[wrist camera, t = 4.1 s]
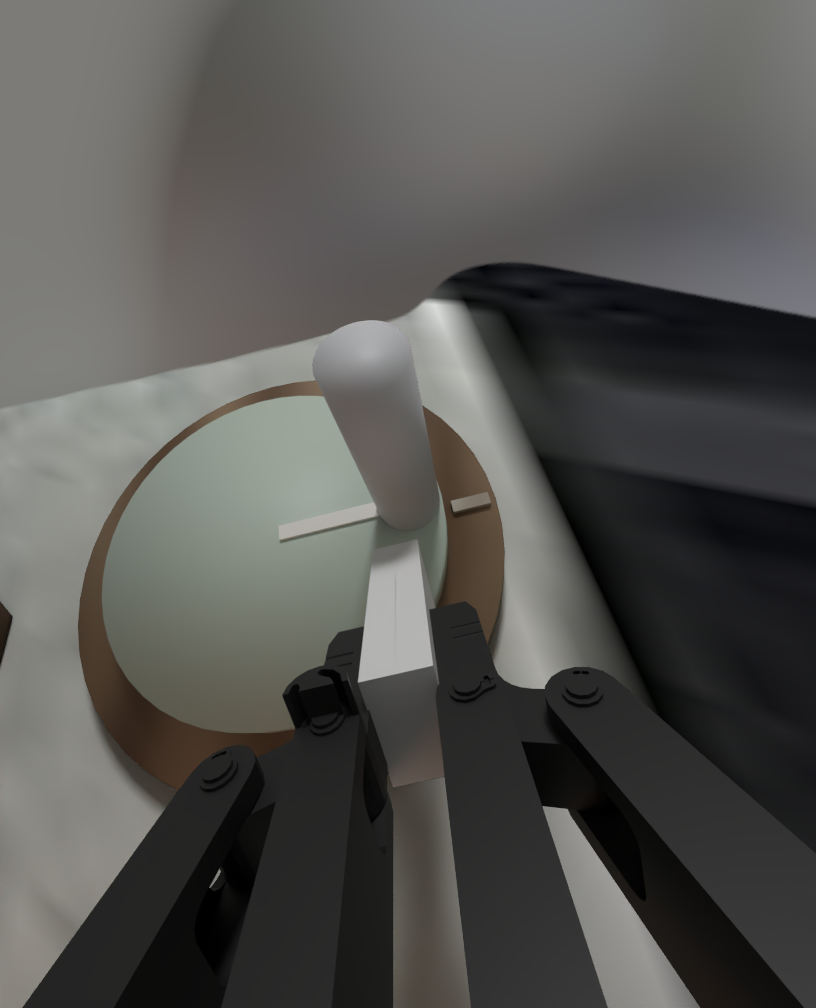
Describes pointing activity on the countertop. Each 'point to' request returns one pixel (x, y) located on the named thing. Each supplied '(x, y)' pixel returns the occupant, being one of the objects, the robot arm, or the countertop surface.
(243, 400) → the walnut base
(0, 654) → the beer bottle
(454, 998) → the countertop surface
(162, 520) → the capstan dial
